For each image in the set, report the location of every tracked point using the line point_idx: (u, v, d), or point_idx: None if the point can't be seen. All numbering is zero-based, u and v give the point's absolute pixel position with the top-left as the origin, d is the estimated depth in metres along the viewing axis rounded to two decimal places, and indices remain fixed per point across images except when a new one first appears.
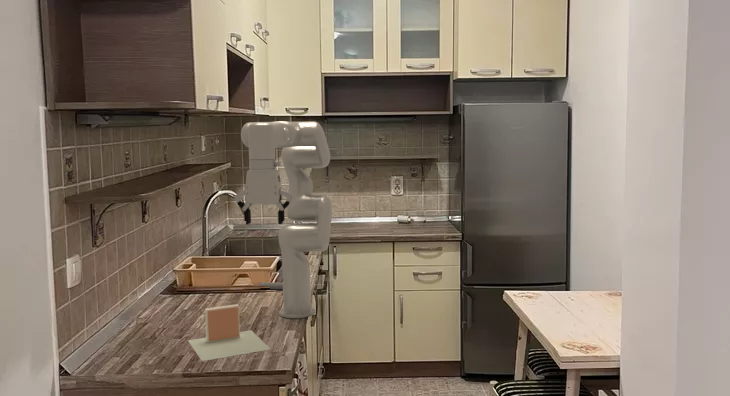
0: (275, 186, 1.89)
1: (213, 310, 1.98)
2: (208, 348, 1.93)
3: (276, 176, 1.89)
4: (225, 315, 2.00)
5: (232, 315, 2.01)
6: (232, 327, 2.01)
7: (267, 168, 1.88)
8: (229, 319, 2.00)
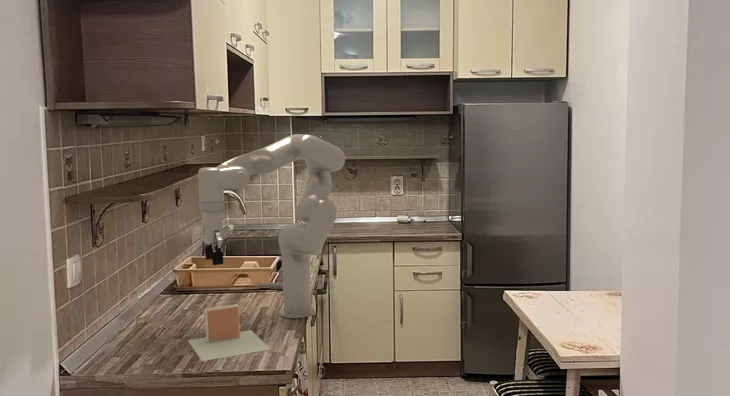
0: None
1: (213, 310, 1.98)
2: (208, 348, 1.93)
3: None
4: (225, 315, 2.00)
5: (232, 315, 2.01)
6: (232, 327, 2.01)
7: None
8: (229, 319, 2.00)
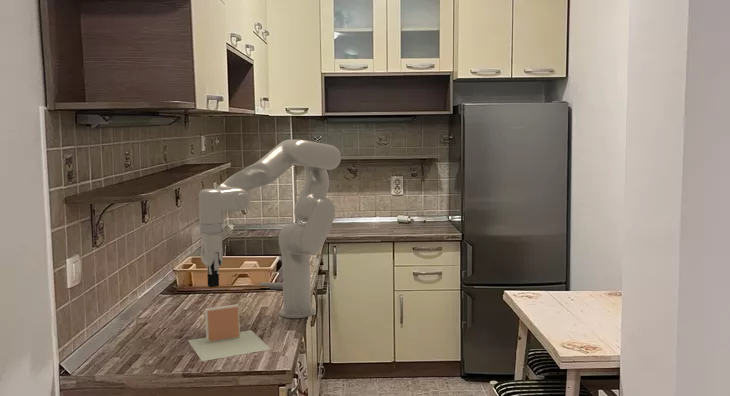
0: None
1: (213, 310, 1.98)
2: (208, 348, 1.93)
3: None
4: (225, 315, 2.00)
5: (232, 315, 2.01)
6: (232, 327, 2.01)
7: None
8: (229, 319, 2.00)
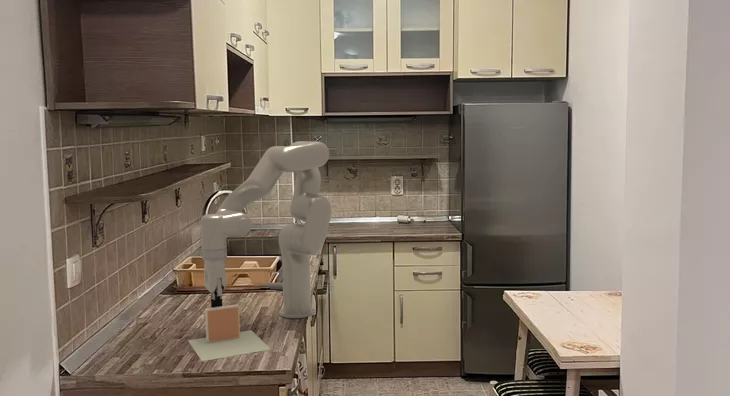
0: None
1: (213, 310, 1.98)
2: (208, 348, 1.93)
3: None
4: (225, 315, 2.00)
5: (232, 315, 2.01)
6: (232, 327, 2.01)
7: None
8: (229, 319, 2.00)
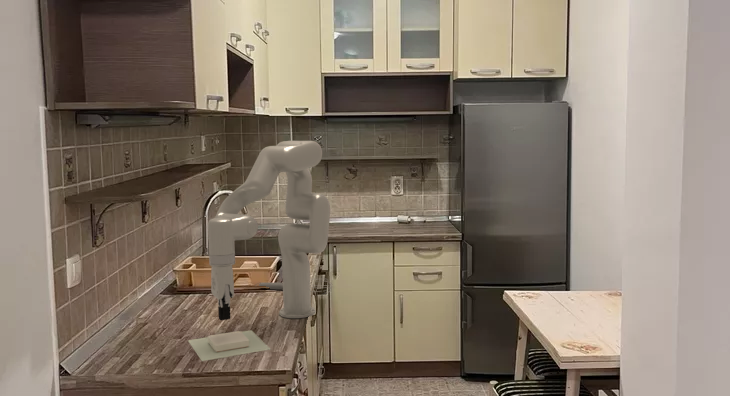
0: None
1: (222, 349, 1.91)
2: (208, 348, 1.93)
3: None
4: None
5: None
6: None
7: None
8: None
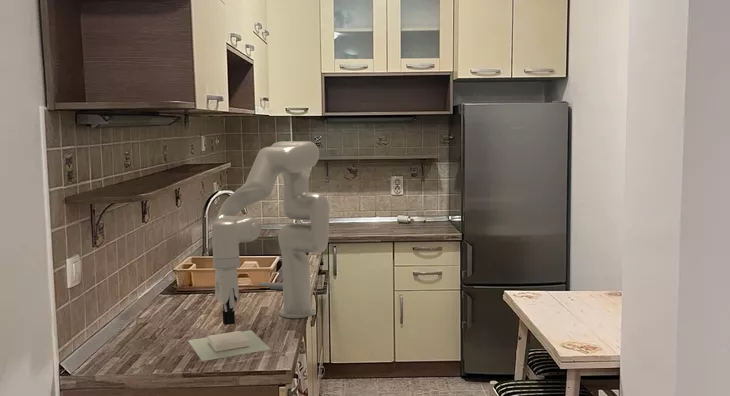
0: None
1: (222, 349, 1.91)
2: (208, 348, 1.93)
3: None
4: None
5: None
6: None
7: None
8: None
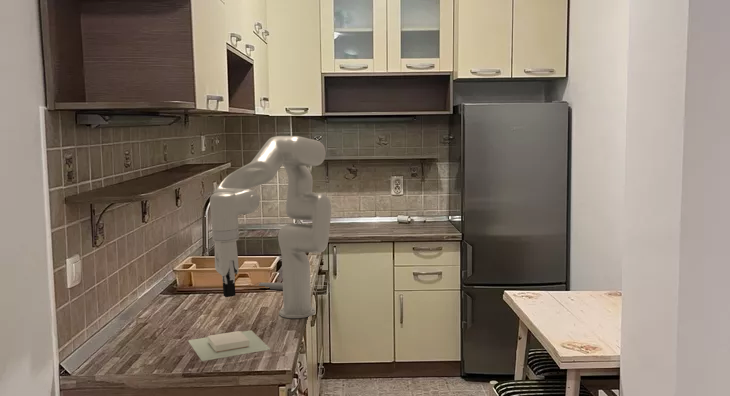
0: None
1: (222, 349, 1.91)
2: (208, 348, 1.93)
3: None
4: None
5: None
6: None
7: None
8: None
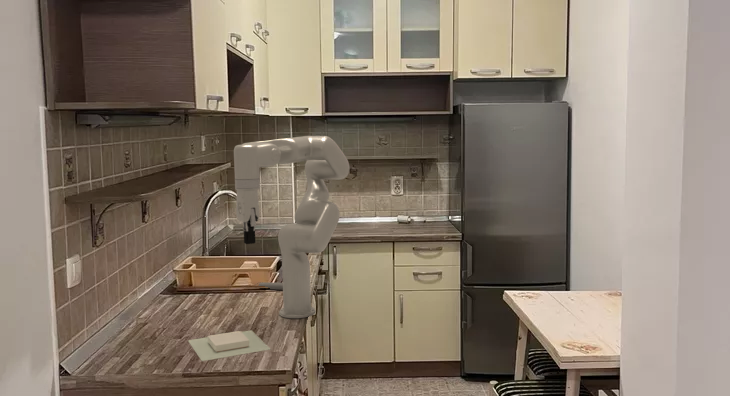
0: None
1: (222, 349, 1.91)
2: (208, 348, 1.93)
3: None
4: None
5: None
6: None
7: None
8: None
